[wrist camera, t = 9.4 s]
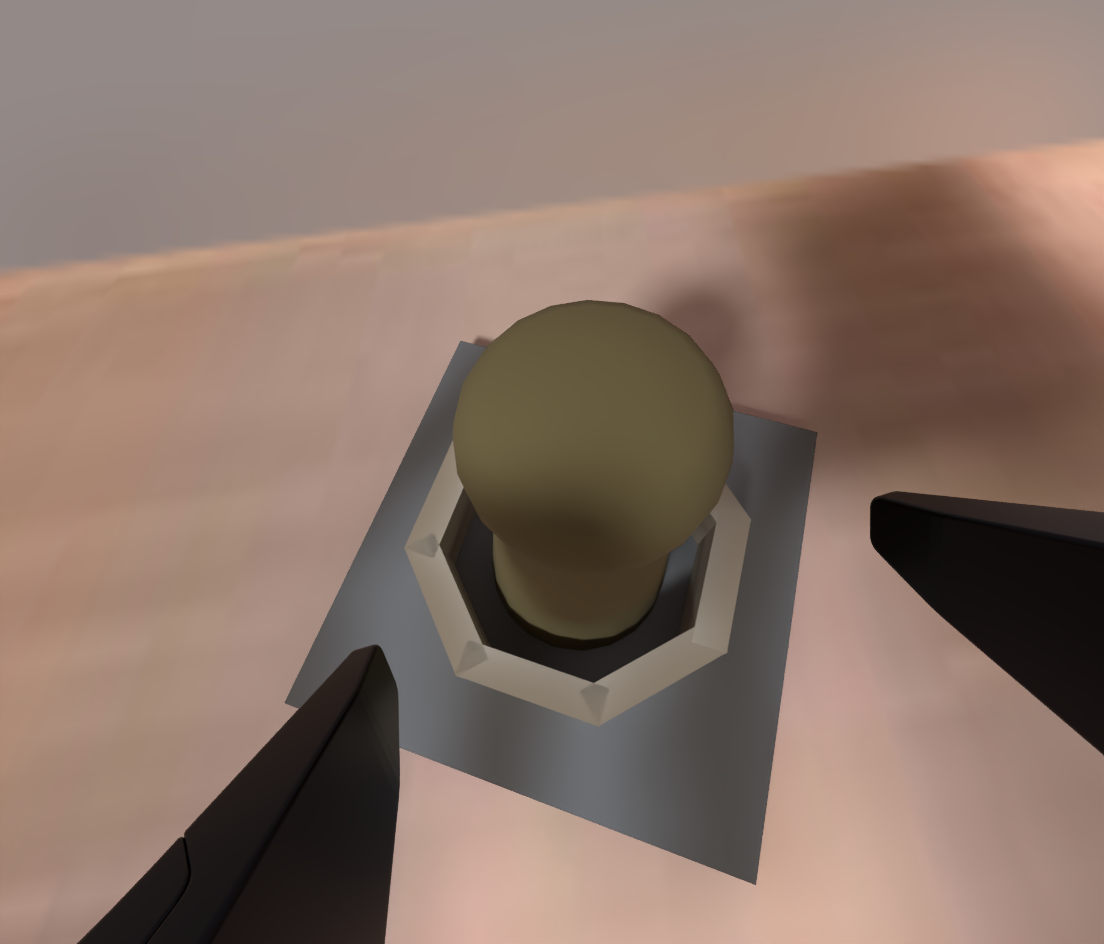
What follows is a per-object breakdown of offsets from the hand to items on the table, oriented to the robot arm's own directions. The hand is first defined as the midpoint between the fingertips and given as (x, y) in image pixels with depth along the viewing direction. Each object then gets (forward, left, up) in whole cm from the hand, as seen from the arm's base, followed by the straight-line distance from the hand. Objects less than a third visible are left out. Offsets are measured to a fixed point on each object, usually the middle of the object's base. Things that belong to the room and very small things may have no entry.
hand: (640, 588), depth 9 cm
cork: (+2, -2, -9) cm, 10 cm away
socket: (+2, -3, -10) cm, 10 cm away
